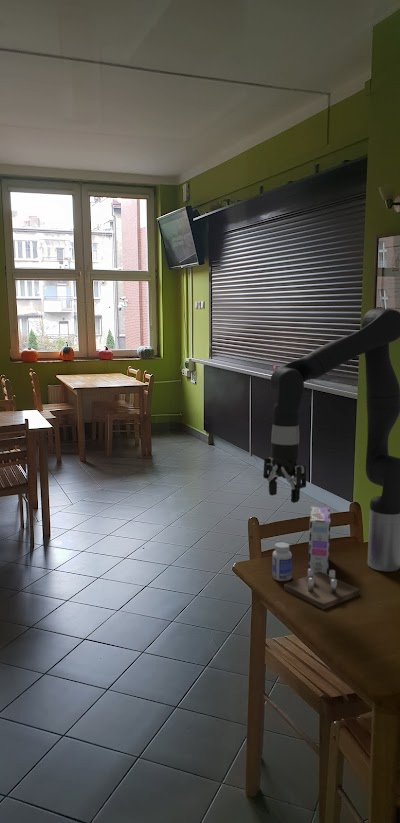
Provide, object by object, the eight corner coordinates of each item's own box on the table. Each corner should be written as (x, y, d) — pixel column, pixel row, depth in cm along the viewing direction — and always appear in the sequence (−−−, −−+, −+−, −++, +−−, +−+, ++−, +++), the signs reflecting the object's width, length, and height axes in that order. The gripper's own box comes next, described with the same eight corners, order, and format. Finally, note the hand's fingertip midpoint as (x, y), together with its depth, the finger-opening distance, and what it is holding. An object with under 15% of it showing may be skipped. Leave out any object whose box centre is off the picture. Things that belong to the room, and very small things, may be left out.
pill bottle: (294, 576, 170) (295, 543, 169) (286, 583, 166) (287, 549, 164) (277, 572, 173) (277, 539, 172) (268, 578, 169) (269, 545, 167)
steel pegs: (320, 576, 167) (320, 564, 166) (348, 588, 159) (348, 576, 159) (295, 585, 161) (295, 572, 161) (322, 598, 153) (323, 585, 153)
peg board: (319, 576, 170) (319, 571, 170) (359, 594, 159) (359, 589, 159) (283, 589, 162) (284, 584, 162) (323, 609, 151) (323, 604, 150)
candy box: (328, 577, 170) (330, 521, 167) (307, 575, 171) (309, 520, 168) (328, 558, 183) (330, 506, 180) (308, 557, 184) (310, 505, 182)
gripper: (314, 443, 160) (312, 502, 162) (277, 435, 171) (275, 490, 174) (294, 447, 156) (292, 507, 158) (257, 438, 167) (256, 494, 169)
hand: (283, 498), depth 166 cm, fingers open, 8 cm apart
